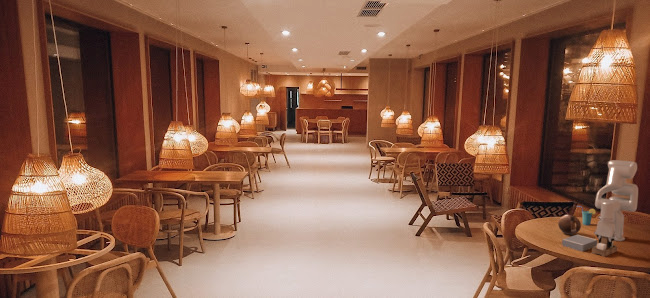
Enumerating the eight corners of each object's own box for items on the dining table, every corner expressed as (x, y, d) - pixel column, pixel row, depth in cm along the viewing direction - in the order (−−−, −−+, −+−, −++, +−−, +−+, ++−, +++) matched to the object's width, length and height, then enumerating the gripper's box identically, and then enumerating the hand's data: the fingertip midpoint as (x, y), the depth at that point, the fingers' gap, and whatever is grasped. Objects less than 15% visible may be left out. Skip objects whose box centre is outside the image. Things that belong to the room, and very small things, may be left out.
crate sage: (606, 245, 291) (606, 240, 290) (612, 247, 287) (613, 241, 287) (603, 246, 289) (603, 241, 288) (609, 248, 285) (610, 243, 285)
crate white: (599, 248, 286) (599, 242, 285) (605, 250, 282) (606, 244, 282) (596, 249, 284) (596, 243, 283) (602, 251, 280) (603, 245, 280)
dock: (576, 240, 310) (576, 234, 310) (597, 245, 298) (597, 239, 298) (561, 245, 299) (562, 239, 299) (582, 251, 288) (582, 245, 287)
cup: (575, 224, 351) (576, 206, 349) (575, 221, 357) (577, 204, 355) (594, 226, 343) (596, 208, 341) (595, 224, 349) (596, 206, 347)
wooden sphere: (557, 230, 335) (558, 211, 333) (579, 232, 328) (580, 214, 326) (558, 235, 322) (559, 216, 320) (580, 238, 315) (582, 218, 313)
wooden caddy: (604, 248, 294) (605, 233, 292) (616, 252, 287) (618, 236, 286) (591, 253, 285) (592, 237, 283) (604, 257, 278) (605, 241, 277)
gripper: (590, 217, 288) (588, 243, 290) (618, 223, 274) (616, 250, 276) (596, 215, 292) (594, 241, 294) (623, 221, 278) (621, 248, 280)
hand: (604, 245), depth 285 cm, fingers open, 4 cm apart
